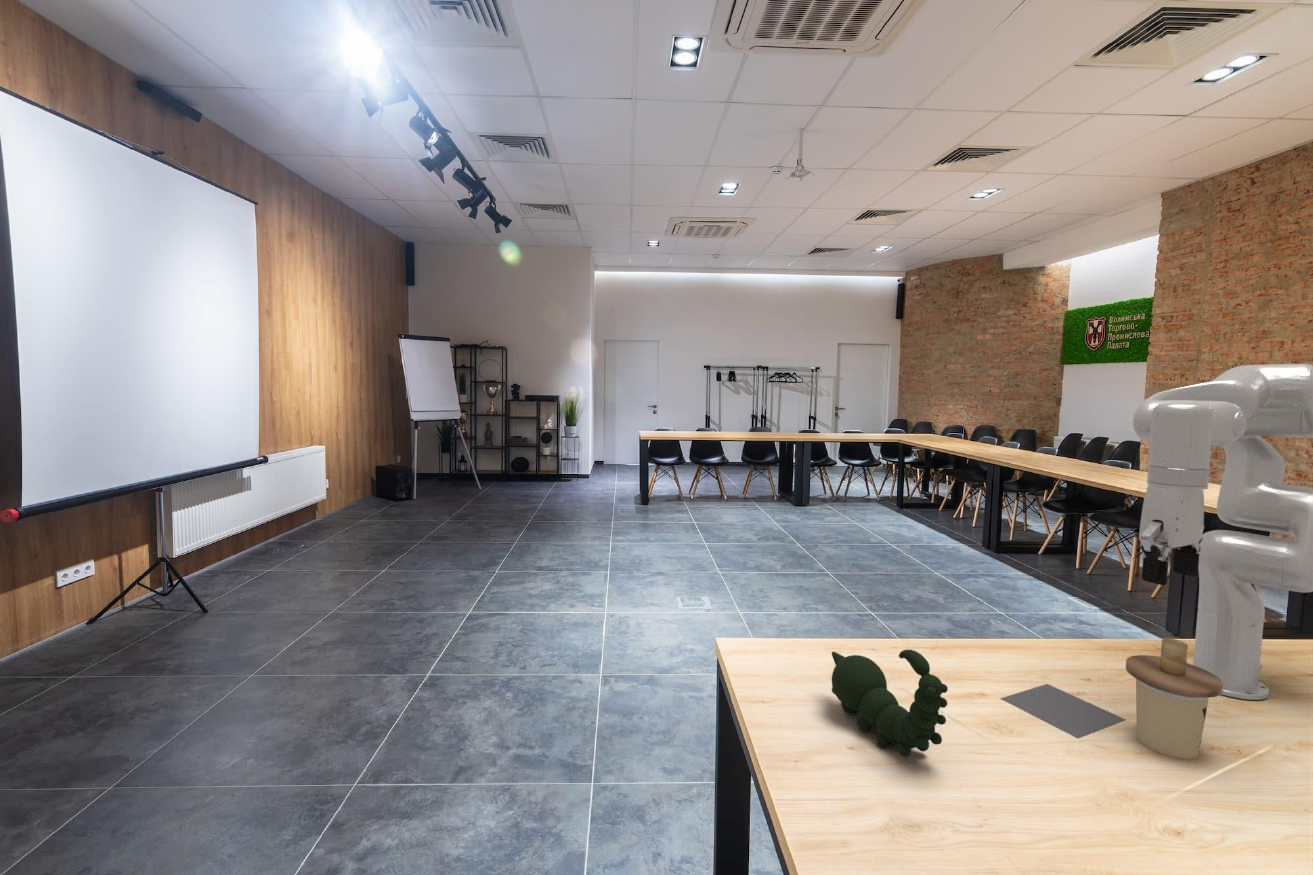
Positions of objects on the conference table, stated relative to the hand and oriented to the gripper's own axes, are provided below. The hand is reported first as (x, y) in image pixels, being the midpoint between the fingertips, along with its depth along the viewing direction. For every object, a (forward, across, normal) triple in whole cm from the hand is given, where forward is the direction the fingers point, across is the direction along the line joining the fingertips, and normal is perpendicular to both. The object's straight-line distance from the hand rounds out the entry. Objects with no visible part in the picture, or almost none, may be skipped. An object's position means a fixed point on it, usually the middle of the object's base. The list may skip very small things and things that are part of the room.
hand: (1169, 578), depth 98 cm
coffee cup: (+28, +2, +2) cm, 29 cm away
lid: (+16, +2, +2) cm, 16 cm away
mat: (+28, +6, -12) cm, 31 cm away
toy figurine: (+28, +42, -22) cm, 55 cm away
